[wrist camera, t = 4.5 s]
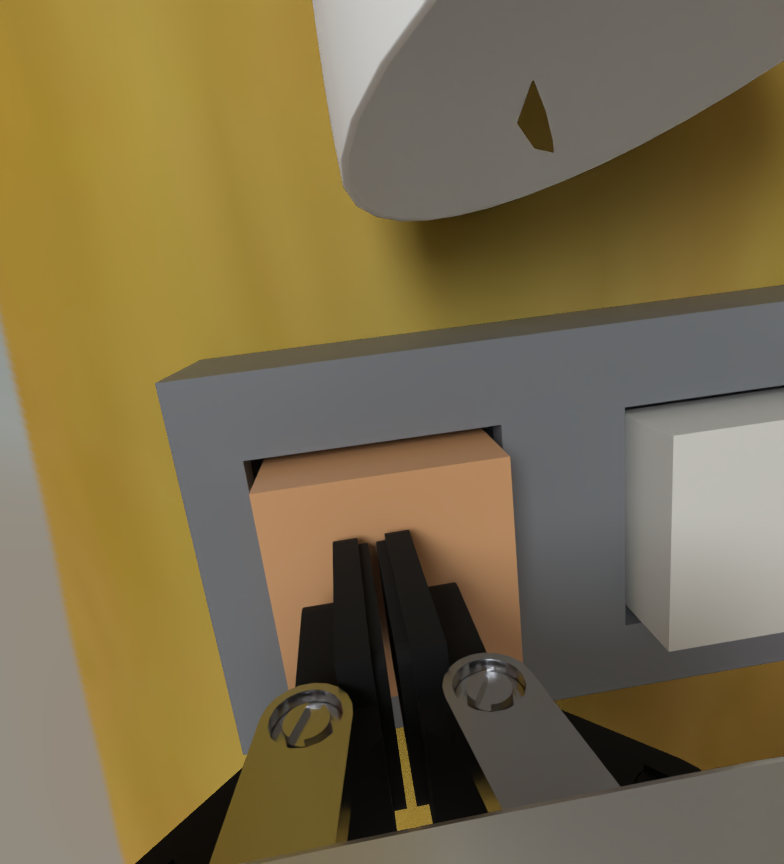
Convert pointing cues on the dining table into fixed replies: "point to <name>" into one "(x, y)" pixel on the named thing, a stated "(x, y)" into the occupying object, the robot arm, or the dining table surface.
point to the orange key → (392, 528)
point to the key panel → (511, 429)
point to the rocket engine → (519, 88)
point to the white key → (706, 518)
